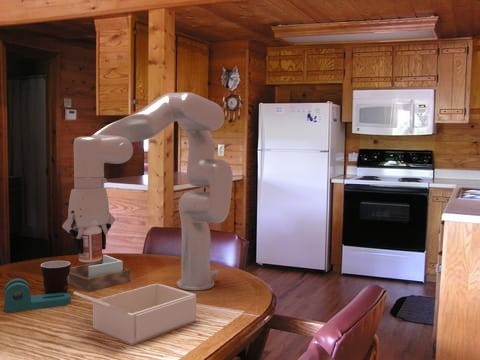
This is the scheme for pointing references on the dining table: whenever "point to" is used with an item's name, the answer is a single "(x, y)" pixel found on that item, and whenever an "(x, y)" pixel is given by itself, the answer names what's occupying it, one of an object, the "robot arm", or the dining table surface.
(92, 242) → the pill bottle
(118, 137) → the robot arm
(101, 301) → the end flap
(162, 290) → the carton
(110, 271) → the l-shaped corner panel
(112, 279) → the open square frame
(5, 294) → the bracket
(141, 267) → the dining table surface
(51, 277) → the coffee mug
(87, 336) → the dining table surface
